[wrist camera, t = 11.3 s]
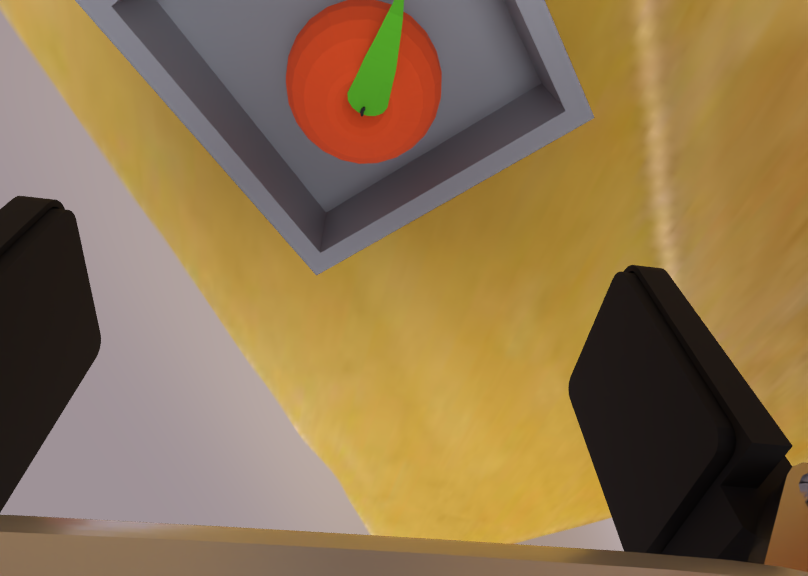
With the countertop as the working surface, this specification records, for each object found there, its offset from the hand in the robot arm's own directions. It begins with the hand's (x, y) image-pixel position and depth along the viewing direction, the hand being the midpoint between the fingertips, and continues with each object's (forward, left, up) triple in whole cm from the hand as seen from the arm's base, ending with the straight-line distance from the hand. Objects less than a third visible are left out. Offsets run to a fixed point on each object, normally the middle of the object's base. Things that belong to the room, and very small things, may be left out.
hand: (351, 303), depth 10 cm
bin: (0, 0, -22) cm, 22 cm away
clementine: (-1, 0, -21) cm, 21 cm away
